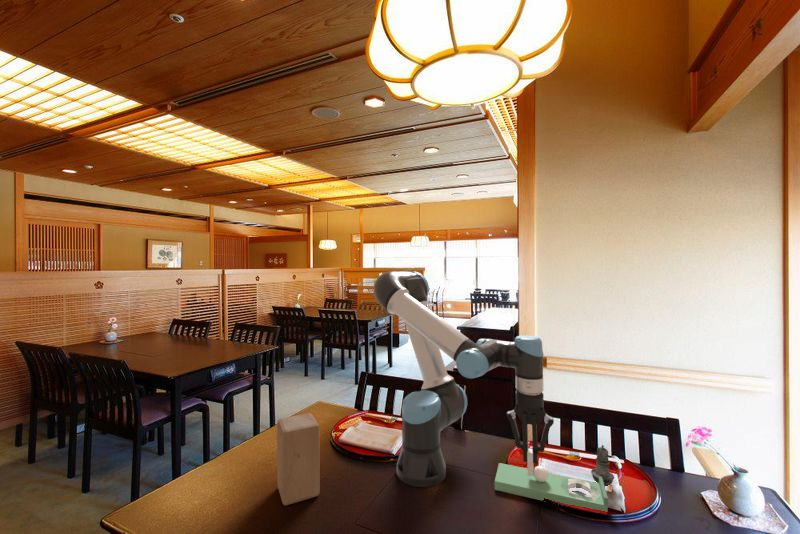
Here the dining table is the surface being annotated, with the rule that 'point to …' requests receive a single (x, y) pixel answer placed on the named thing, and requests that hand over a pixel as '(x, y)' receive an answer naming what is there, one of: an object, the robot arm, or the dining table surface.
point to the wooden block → (298, 458)
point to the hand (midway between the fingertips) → (530, 473)
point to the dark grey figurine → (602, 467)
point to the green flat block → (551, 487)
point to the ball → (540, 474)
